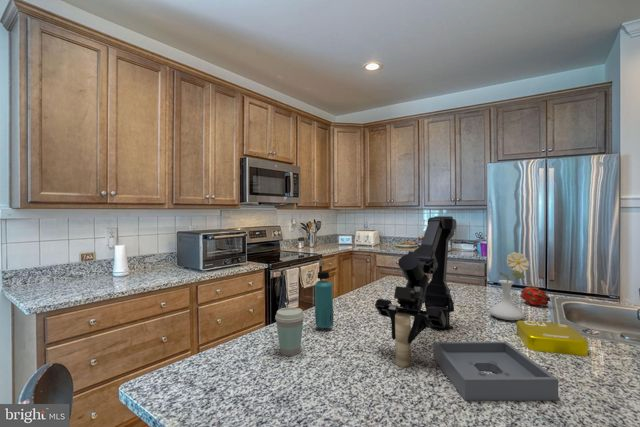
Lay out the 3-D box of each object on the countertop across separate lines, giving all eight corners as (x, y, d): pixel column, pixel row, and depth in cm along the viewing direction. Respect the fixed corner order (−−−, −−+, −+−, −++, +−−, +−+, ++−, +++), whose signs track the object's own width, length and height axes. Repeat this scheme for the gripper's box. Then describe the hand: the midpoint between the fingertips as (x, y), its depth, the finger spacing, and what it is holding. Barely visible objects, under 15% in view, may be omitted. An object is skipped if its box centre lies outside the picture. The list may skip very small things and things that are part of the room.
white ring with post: (380, 301, 148) (380, 292, 148) (397, 303, 143) (397, 294, 143) (372, 305, 141) (371, 296, 141) (389, 308, 136) (389, 299, 136)
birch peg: (405, 359, 90) (404, 312, 89) (414, 365, 86) (413, 316, 86) (392, 361, 88) (392, 314, 88) (401, 368, 84) (400, 318, 84)
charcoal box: (433, 358, 90) (433, 341, 90) (506, 357, 90) (506, 341, 90) (464, 400, 70) (464, 379, 70) (558, 400, 70) (558, 379, 70)
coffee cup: (308, 347, 98) (308, 308, 98) (297, 360, 90) (297, 316, 90) (283, 344, 101) (282, 305, 101) (270, 355, 93) (269, 314, 93)
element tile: (528, 351, 94) (528, 334, 94) (515, 332, 109) (515, 318, 108) (591, 358, 90) (590, 340, 90) (568, 337, 104) (568, 322, 104)
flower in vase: (491, 320, 119) (490, 252, 119) (487, 311, 129) (487, 249, 129) (532, 325, 114) (532, 254, 114) (525, 315, 125) (525, 250, 124)
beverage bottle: (332, 332, 109) (331, 273, 109) (312, 331, 111) (312, 273, 110) (335, 326, 116) (334, 270, 115) (316, 325, 117) (316, 269, 117)
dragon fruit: (521, 304, 144) (548, 316, 133) (511, 295, 141) (539, 306, 130) (530, 288, 145) (559, 299, 134) (521, 279, 141) (550, 289, 131)
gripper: (377, 271, 95) (359, 318, 87) (442, 278, 84) (429, 334, 76) (388, 291, 102) (372, 338, 93) (450, 301, 91) (439, 355, 82)
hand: (400, 340), depth 86 cm, fingers closed on birch peg, 4 cm apart
